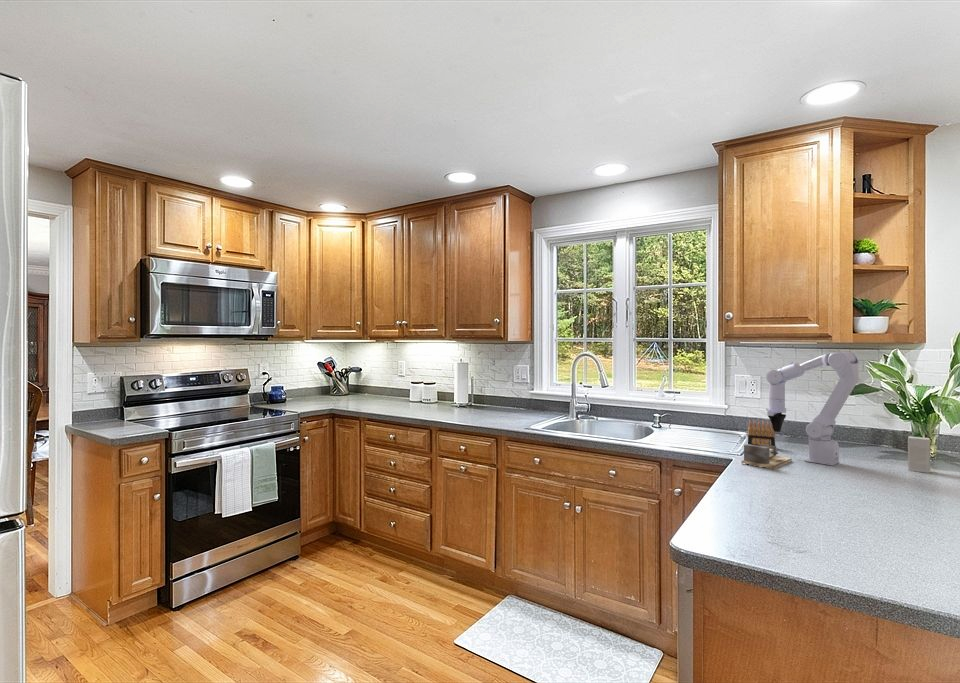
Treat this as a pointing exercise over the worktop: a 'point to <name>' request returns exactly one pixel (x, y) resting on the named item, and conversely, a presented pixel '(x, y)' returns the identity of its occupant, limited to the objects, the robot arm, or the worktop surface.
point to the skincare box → (919, 454)
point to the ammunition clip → (761, 434)
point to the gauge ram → (771, 450)
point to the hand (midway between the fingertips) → (777, 431)
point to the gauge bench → (775, 464)
